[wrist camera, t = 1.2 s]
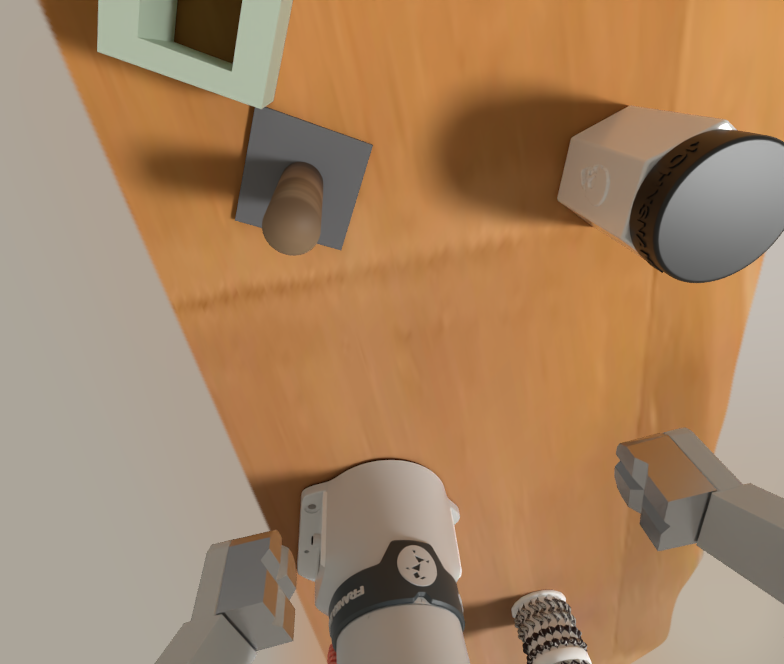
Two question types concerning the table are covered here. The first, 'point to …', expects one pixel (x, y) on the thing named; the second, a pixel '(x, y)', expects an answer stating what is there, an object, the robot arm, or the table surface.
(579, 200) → the jar
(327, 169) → the mat
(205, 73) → the socket block
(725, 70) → the table surface
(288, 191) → the walnut peg
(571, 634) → the decorative candle
